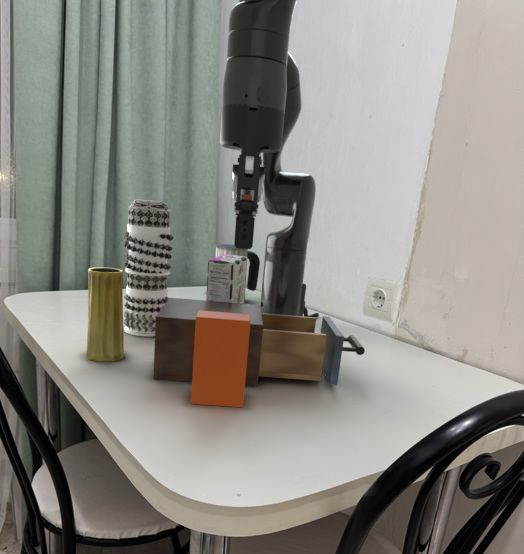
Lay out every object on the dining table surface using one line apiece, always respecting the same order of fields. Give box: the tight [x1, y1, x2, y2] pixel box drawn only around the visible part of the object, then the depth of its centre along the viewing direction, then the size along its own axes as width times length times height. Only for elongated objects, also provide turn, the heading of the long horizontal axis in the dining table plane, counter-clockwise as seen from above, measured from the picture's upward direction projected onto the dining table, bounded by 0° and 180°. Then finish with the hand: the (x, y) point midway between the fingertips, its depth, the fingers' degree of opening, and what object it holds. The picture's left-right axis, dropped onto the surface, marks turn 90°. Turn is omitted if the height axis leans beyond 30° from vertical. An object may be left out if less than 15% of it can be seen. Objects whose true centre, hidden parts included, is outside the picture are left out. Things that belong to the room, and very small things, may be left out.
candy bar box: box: [205, 255, 248, 304], centre depth 95 cm, size 11×5×16 cm, turn 168°
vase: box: [85, 267, 126, 363], centre depth 81 cm, size 6×6×14 cm
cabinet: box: [153, 297, 263, 387], centre depth 81 cm, size 16×15×10 cm
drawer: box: [259, 313, 366, 386], centre depth 82 cm, size 19×13×8 cm
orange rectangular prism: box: [190, 310, 251, 408], centre depth 68 cm, size 7×4×12 cm, turn 92°
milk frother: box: [214, 243, 261, 303], centre depth 139 cm, size 14×16×15 cm
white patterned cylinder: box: [123, 199, 174, 337], centre depth 97 cm, size 9×9×25 cm
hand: (243, 244), depth 65 cm, fingers open, 8 cm apart
